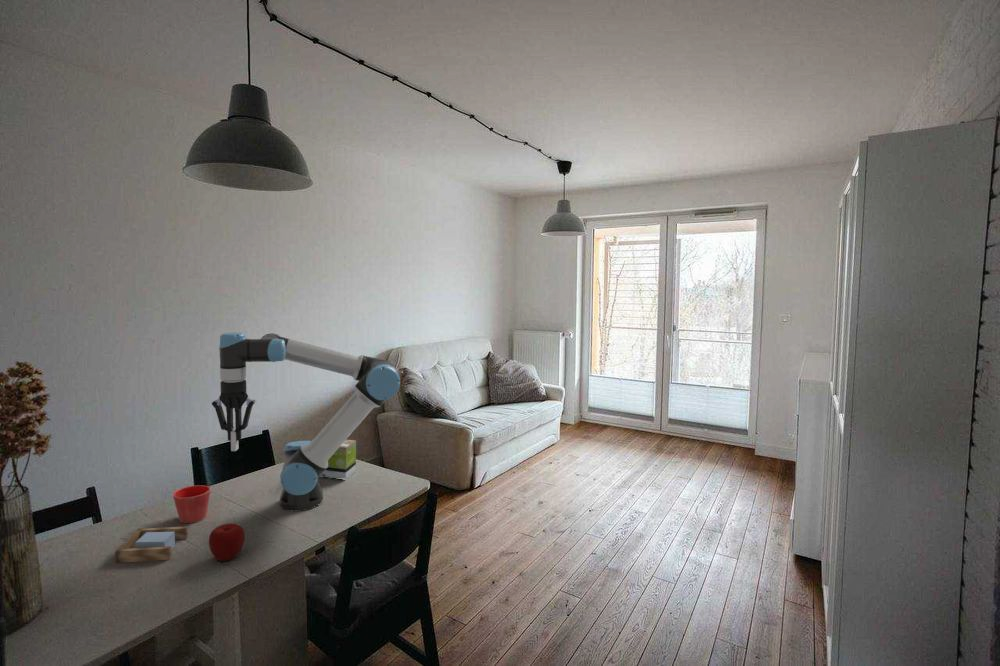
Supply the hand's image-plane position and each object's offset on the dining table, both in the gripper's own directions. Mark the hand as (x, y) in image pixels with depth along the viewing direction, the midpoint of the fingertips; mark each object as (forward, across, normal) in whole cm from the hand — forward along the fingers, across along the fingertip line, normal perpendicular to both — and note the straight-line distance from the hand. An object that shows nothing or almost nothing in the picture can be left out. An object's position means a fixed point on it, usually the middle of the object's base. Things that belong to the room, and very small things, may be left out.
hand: (234, 449), depth 170 cm
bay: (+26, +19, +13) cm, 35 cm away
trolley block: (+27, +19, +14) cm, 35 cm away
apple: (+27, -4, +20) cm, 34 cm away
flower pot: (+27, +16, -7) cm, 32 cm away
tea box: (+27, -27, -42) cm, 56 cm away
